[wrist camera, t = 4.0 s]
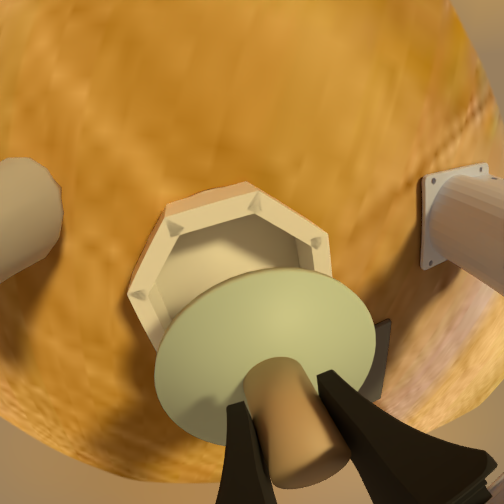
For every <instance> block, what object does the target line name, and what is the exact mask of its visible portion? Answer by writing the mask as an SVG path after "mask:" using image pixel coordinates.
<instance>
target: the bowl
mask: <svg viewBox="0 0 504 504" xmlns="http://www.w3.org/2000/svg"><path fill="white" fill-rule="evenodd" d="M275 267H296V268H304V269H309V270H314V271H317V272H320V273H323V274H326V275H328V276H330V277H332V270H331V259H330V249H329V240H328V234H327V233H326V232H325V231H323V230H322V229H321V228H319V227H318V226H317V225H315V224H314V223H312V222H311V221H310V220H308V219H307V218H305V217H304V216H302V215H301V214H299V213H297V212H296V211H294V210H293V209H291V208H289V207H288V206H286V205H285V204H283V203H281V202H280V201H278V200H277V199H275V198H274V197H272V196H270V195H268V194H267V193H265V192H263V191H262V190H260V189H259V188H257V187H255V186H254V185H252V184H250V183H249V182H247V181H246V182H242V183H238V184H234V185H230V186H227V187H217V188H213V189H208V190H204V191H202V192H199V193H196V194H193V195H191V196H189V197H188V198H185V199H181V200H178V201H175V202H172V203H168V204H167V205H166V206H165V208H164V210H163V212H162V214H161V216H160V218H159V220H158V222H157V224H156V225H155V227H154V229H153V230H152V232H151V234H150V236H149V238H148V240H147V243H146V245H145V247H144V249H143V251H142V254H141V256H140V258H139V260H138V262H137V264H136V266H135V268H134V270H133V273H132V277H131V281H130V284H129V288H128V292H127V295H128V297H129V300H130V302H131V304H132V306H133V308H134V310H135V312H136V314H137V316H138V318H139V320H140V322H141V324H142V326H143V328H144V330H145V332H146V333H147V335H148V337H149V339H150V341H151V343H152V345H153V347H154V348H155V350H156V352H157V351H158V347H159V344H160V341H161V339H162V337H163V335H164V333H165V331H166V329H167V328H168V326H169V325H170V323H171V322H172V321H173V319H174V318H175V317H176V315H177V314H178V313H179V312H180V311H181V310H182V309H183V308H184V307H185V306H186V305H187V304H188V303H190V302H191V301H192V300H193V299H194V298H196V297H197V296H198V295H199V294H201V293H203V292H204V291H206V290H207V289H209V288H211V287H212V286H214V285H216V284H218V283H220V282H222V281H224V280H227V279H229V278H231V277H234V276H237V275H240V274H243V273H246V272H250V271H255V270H259V269H264V268H275Z"/></svg>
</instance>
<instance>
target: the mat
mask: <svg viewBox="0 0 504 504" xmlns="http://www.w3.org/2000/svg"><path fill="white" fill-rule="evenodd" d="M374 328H375V334H376V346H375V354H374V358H373V362H372V365H371V368H370V370H369V373H368V375H367V377H366V379H365V381H364V383H363V384H362V386H361V387H360V389H359V390H358V392H359V393H360V394H361V395H362V396H364V397H365V398H366V399H368V400H369V401H370V402H374V401H376V400H378V399H380V398H381V393H382V387H383V381H384V375H385V369H386V362H387V355H388V347H389V338H390V329H391V320H390V319H387V320H385V321H383V322H381V323H379V324H376V325H374Z"/></svg>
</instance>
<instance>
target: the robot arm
mask: <svg viewBox="0 0 504 504" xmlns="http://www.w3.org/2000/svg"><path fill="white" fill-rule="evenodd" d="M488 171H489V168H488V164H487V163H484V162H483V163H478V164H473V165H468V166H464V167H459V168H454V169H450V170H445V171H441V172H436V173H432V174H427V175H425V176H424V177H423V179H422V244H421V261H420V267H421V268H422V269H423V270H427V269H429V268H431V267H433V266H435V265H438V264H440V263H442V262H444V261H446V260H449V261H451V262H452V263H454V264H456V265H457V266H459V267H460V268H462V269H464V270H465V271H467V272H468V273H470V274H471V275H473V276H474V277H476V278H477V279H479V280H480V281H482V282H483V283H485V284H486V285H488V286H489V287H491V288H492V289H494V290H495V291H497V292H498V293H500V294H501V295H502V296H504V179H503V178H500V177H497V176H493V175H490V174H488ZM431 181H432V182H431ZM316 376H317V385H318V394H319V397H320V399H321V400H322V402H323V404H324V406H325V407H326V409H327V411H328V413H329V414H330V416H331V418H332V419H333V421H334V423H335V425H336V426H337V428H338V430H339V431H340V433H341V435H342V437H343V438H344V440H345V442H346V443H347V445H348V447H349V449H350V450H351V458H350V459H351V460H352V462H353V463H354V465H355V467H356V468H357V470H358V472H359V474H360V476H361V478H362V481H363V483H364V485H365V487H366V489H367V491H368V493H369V495H370V497H371V500H372V502H373V504H504V472H503V474H501V475H500V476H499V477H498V478H497V479H496V480H495V481H494V482H493V483H492V484H491V485H490V486H489V487H488V488H486V486H485V485H486V484H487V482H486V480H485V478H486V477H487V476H488V475H489V474H490V473H491V472H492V471H493V470H494V469H495V468H496V467H497V463H496V462H495V460H494V459H493V458H492V457H491V456H490V455H489V454H488V453H487V452H486V451H484V450H478V449H473V448H469V447H464V446H460V445H457V444H453V443H450V442H447V441H444V440H441V439H438V438H436V437H433V436H430V435H428V434H425V433H423V432H421V431H419V430H417V429H414V428H412V427H411V426H409V425H407V424H405V423H403V422H401V421H399V420H398V419H396V418H394V417H393V416H391V415H389V414H388V413H386V412H385V411H383V410H382V409H380V408H379V407H377V406H376V405H374V404H373V403H372V402H370V401H369V400H368V399H366V398H365V397H364V396H362V395H361V394H360V393H359V392H357V391H356V390H355V389H354V388H353V387H351V386H350V385H349V384H348V383H347V382H346V381H345V380H343V379H342V378H341V377H340V376H339V375H338V374H337V373H336V372H335V371H334V370H332V369H331V370H328V371H326V372H323V373H321V374H318V375H316ZM226 413H227V434H226V448H225V458H224V465H223V471H222V477H221V482H220V487H219V491H218V495H217V500H216V503H215V504H277V502H276V498H275V495H274V492H273V488H272V483H271V479H270V475H269V471H268V468H267V465H266V462H265V459H264V456H263V452H262V449H261V446H260V443H259V439H258V436H257V433H256V429H255V426H254V423H253V420H252V418H251V415H250V413H249V411H248V409H247V407H246V404H245V402H244V401H241V402H238V403H234V404H231V405H228V406H227V407H226Z"/></svg>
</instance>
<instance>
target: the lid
mask: <svg viewBox="0 0 504 504" xmlns="http://www.w3.org/2000/svg"><path fill="white" fill-rule="evenodd" d="M375 346H376V334H375V328H374V323H373V320H372V318H371V315H370V312H369V311H368V309H367V308H366V306H365V304H364V303H363V302H362V301H361V299H360V298H359V297H358V296H357V295H356V294H355V293H354V292H352V291H351V290H350V289H349V288H348V287H346V286H345V285H344V284H342V283H341V282H340V281H338V280H336V279H334V278H332V277H330V276H328V275H326V274H323V273H320V272H317V271H314V270H309V269H304V268H296V267H275V268H264V269H259V270H255V271H250V272H246V273H243V274H240V275H237V276H234V277H231V278H229V279H227V280H224V281H222V282H220V283H218V284H216V285H214V286H212V287H211V288H209V289H207V290H206V291H204V292H203V293H201V294H199V295H198V296H197V297H196V298H194V299H193V300H192V301H191V302H190V303H188V304H187V305H186V306H185V307H184V308H183V309H182V310H181V311H180V312H179V313H178V314H177V315H176V317H175V318H174V319H173V321H172V322H171V323H170V325H169V326H168V328H167V329H166V331H165V333H164V335H163V337H162V339H161V341H160V344H159V347H158V351H157V354H156V363H155V373H154V379H155V388H156V392H157V396H158V399H159V401H160V403H161V405H162V407H163V409H164V410H165V412H166V413H167V414H168V416H169V417H170V418H171V419H172V420H173V421H174V422H175V423H176V424H177V425H178V426H179V427H181V428H182V429H183V430H185V431H186V432H188V433H190V434H191V435H193V436H195V437H197V438H199V439H202V440H204V441H207V442H210V443H214V444H217V445H223V446H226V434H227V413H226V407H227V406H228V405H231V404H234V403H238V402H241V401H244V402H245V404H246V407H247V409H248V411H249V413H250V415H251V418H252V420H253V423H254V426H255V429H256V433H257V436H258V439H259V443H260V446H261V449H262V452H263V456H264V459H265V462H266V465H267V468H268V471H269V474H270V477H271V480H272V483H273V484H274V485H275V486H276V487H279V488H282V489H297V488H303V487H307V486H311V485H314V484H316V483H319V482H321V481H324V480H326V479H328V478H329V477H331V476H333V475H334V474H336V473H337V472H339V471H340V470H341V469H342V468H343V467H344V466H345V465H346V464H347V463H348V461H349V460H350V458H351V450H350V449H349V447H348V445H347V443H346V442H345V440H344V438H343V437H342V435H341V433H340V431H339V430H338V428H337V426H336V425H335V423H334V421H333V419H332V418H331V416H330V414H329V413H328V411H327V409H326V407H325V406H324V404H323V402H322V400H321V399H320V397H319V394H318V385H317V376H316V375H318V374H321V373H323V372H326V371H328V370H331V369H332V370H334V371H335V372H336V373H337V374H338V375H339V376H340V377H341V378H342V379H343V380H345V381H346V382H347V383H348V384H349V385H350V386H351V387H353V388H354V389H355V390H356V391H357V392H358V390H359V389H360V387H361V386H362V384H363V383H364V381H365V379H366V377H367V375H368V373H369V370H370V368H371V365H372V362H373V358H374V354H375Z"/></svg>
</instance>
